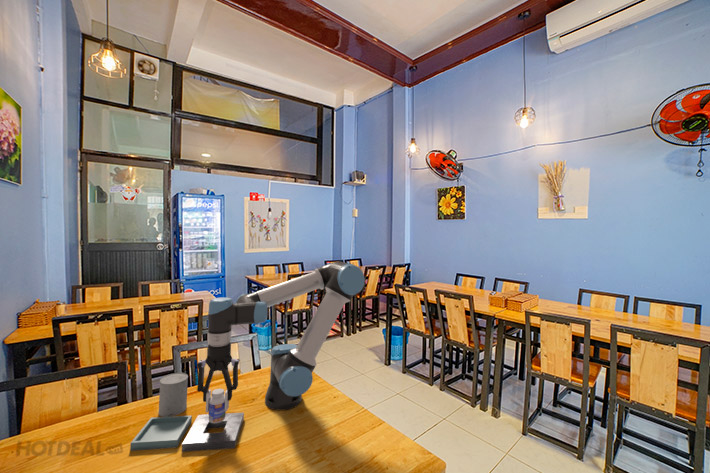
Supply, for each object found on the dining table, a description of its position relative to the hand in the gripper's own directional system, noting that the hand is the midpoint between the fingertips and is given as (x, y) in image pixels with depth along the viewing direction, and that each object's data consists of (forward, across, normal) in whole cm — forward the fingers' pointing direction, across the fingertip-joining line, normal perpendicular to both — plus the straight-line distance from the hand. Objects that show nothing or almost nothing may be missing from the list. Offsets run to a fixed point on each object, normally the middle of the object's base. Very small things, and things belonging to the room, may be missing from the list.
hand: (217, 409), depth 108 cm
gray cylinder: (+8, -20, +17) cm, 28 cm away
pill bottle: (+4, 0, 0) cm, 4 cm away
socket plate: (+8, 0, 0) cm, 9 cm away
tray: (+8, -17, +1) cm, 19 cm away
